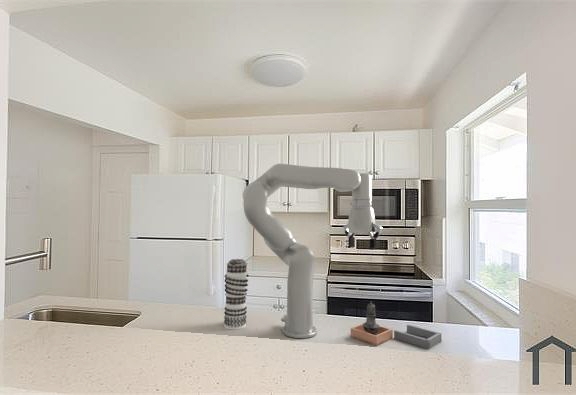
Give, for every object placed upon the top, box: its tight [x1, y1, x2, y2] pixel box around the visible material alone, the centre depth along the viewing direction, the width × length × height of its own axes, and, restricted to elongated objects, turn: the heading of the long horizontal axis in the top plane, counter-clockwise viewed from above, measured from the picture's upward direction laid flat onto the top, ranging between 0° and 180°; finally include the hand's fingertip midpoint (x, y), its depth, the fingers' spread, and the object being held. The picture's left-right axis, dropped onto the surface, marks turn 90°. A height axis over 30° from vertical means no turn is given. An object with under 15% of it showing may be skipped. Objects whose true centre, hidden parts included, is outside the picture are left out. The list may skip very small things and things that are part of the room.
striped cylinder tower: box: [223, 258, 249, 331], centre depth 120 cm, size 9×9×25 cm
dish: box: [350, 323, 394, 347], centre depth 110 cm, size 10×10×3 cm
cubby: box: [393, 324, 442, 350], centre depth 109 cm, size 12×10×2 cm
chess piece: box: [362, 300, 381, 335], centre depth 110 cm, size 6×6×12 cm
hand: (361, 248), depth 122 cm, fingers open, 9 cm apart
